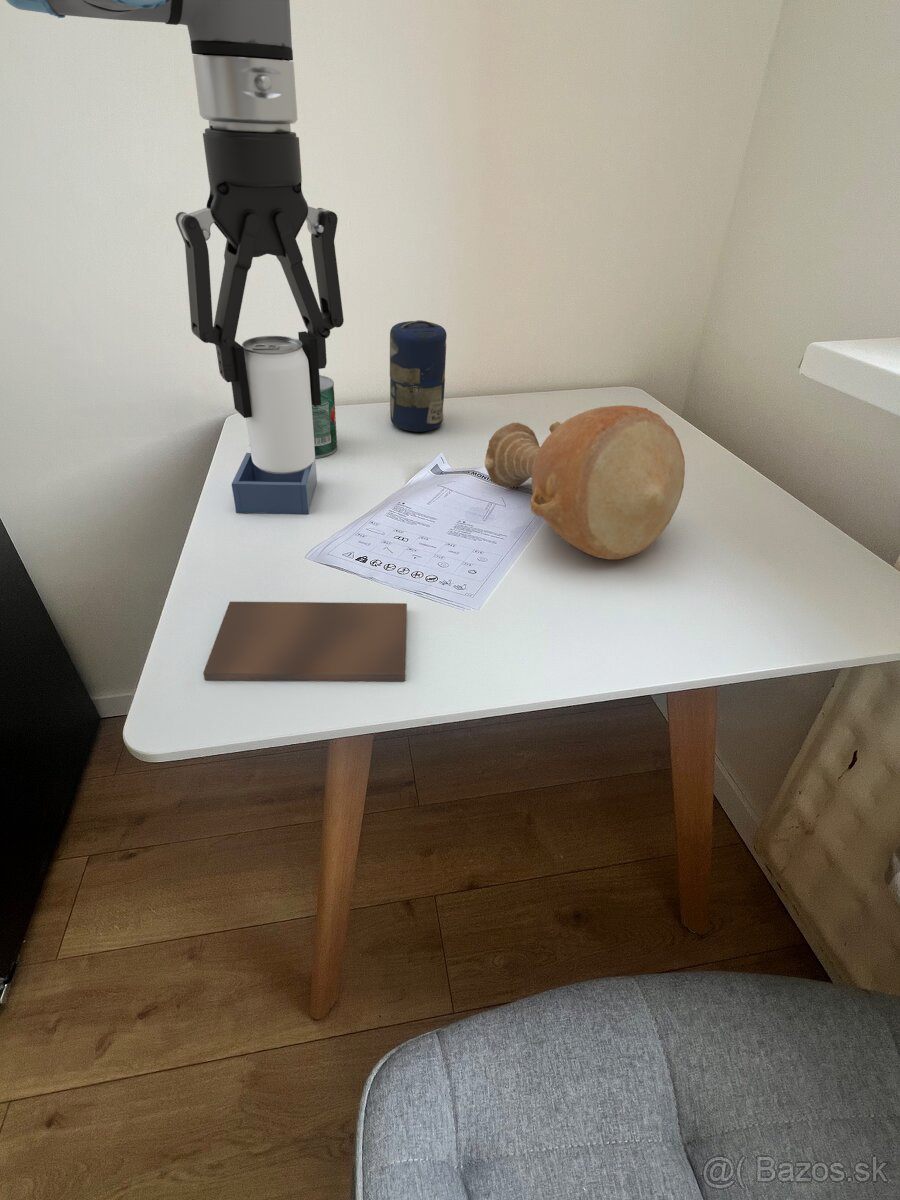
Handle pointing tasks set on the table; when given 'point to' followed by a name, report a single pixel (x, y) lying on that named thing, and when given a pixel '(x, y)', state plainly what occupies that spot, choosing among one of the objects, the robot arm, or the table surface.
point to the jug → (597, 476)
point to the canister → (417, 375)
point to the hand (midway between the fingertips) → (278, 406)
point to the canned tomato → (325, 420)
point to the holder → (273, 490)
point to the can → (279, 404)
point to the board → (310, 642)
